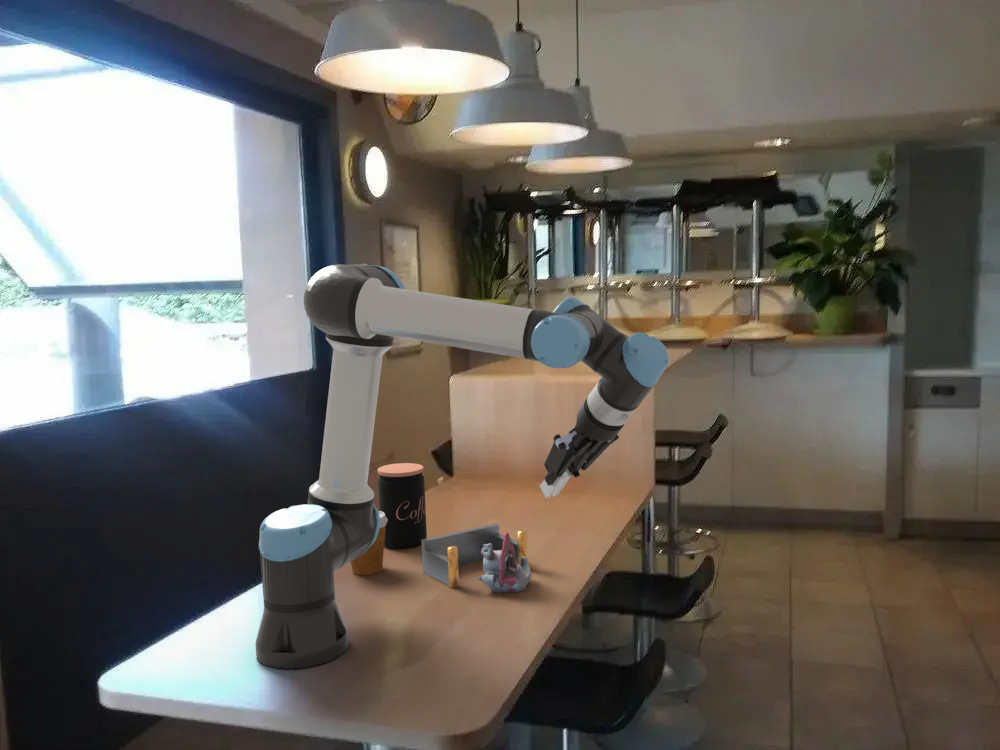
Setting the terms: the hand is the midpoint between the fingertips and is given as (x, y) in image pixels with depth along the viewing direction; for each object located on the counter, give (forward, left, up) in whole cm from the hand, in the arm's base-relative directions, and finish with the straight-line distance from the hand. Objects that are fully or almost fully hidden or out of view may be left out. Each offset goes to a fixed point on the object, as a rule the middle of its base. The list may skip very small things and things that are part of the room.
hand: (548, 490), depth 160 cm
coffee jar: (-3, +53, -22) cm, 58 cm away
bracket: (0, +26, -22) cm, 34 cm away
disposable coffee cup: (-18, +41, -22) cm, 50 cm away
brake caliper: (0, +15, -22) cm, 27 cm away
